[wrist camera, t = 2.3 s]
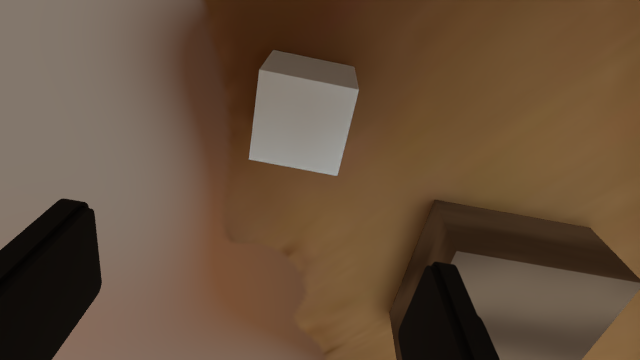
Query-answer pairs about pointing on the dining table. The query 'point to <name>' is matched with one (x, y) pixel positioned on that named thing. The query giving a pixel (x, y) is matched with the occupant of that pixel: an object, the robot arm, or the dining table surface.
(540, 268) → the walnut block
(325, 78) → the off-white cube
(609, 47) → the dining table surface
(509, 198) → the dining table surface
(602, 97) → the dining table surface
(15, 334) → the robot arm
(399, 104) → the dining table surface
